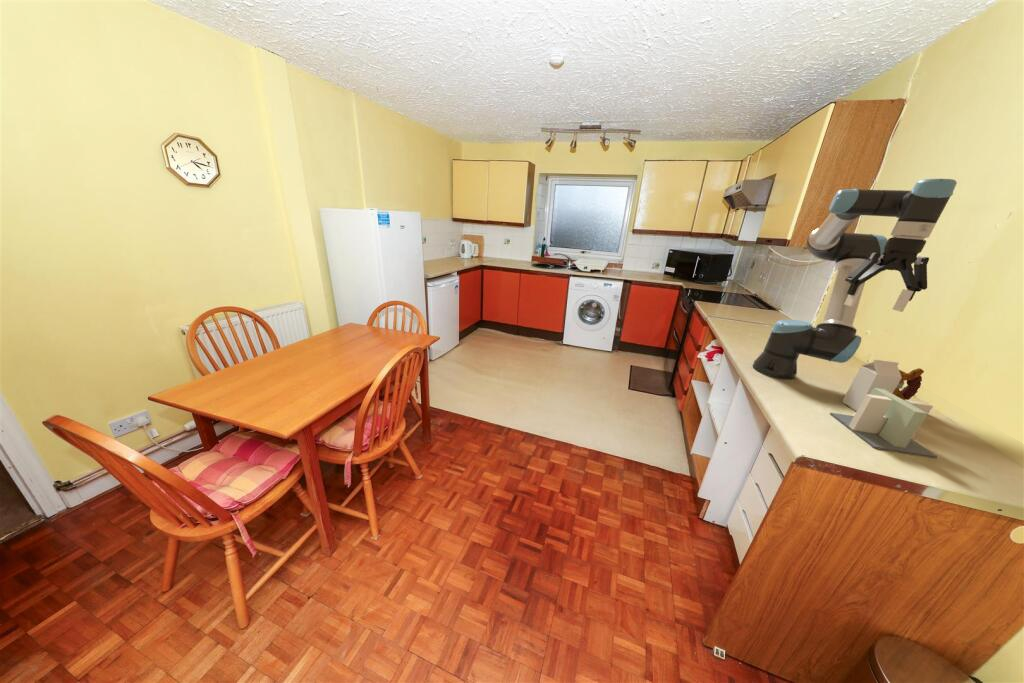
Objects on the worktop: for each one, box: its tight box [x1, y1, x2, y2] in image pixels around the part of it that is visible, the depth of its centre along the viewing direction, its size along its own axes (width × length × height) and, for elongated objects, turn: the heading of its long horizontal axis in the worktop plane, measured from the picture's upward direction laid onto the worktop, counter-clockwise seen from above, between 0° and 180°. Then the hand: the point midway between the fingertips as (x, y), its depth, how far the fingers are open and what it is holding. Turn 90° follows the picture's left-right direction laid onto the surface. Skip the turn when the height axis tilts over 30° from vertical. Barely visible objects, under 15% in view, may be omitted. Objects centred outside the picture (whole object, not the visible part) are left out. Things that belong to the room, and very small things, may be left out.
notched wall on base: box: [829, 394, 939, 459], centre depth 100 cm, size 16×18×13 cm
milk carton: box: [842, 359, 902, 413], centre depth 114 cm, size 7×7×19 cm
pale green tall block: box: [870, 388, 929, 448], centre depth 100 cm, size 14×3×12 cm, turn 170°
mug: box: [893, 367, 925, 401], centre depth 122 cm, size 11×16×15 cm, turn 71°
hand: (872, 308), depth 103 cm, fingers open, 13 cm apart
